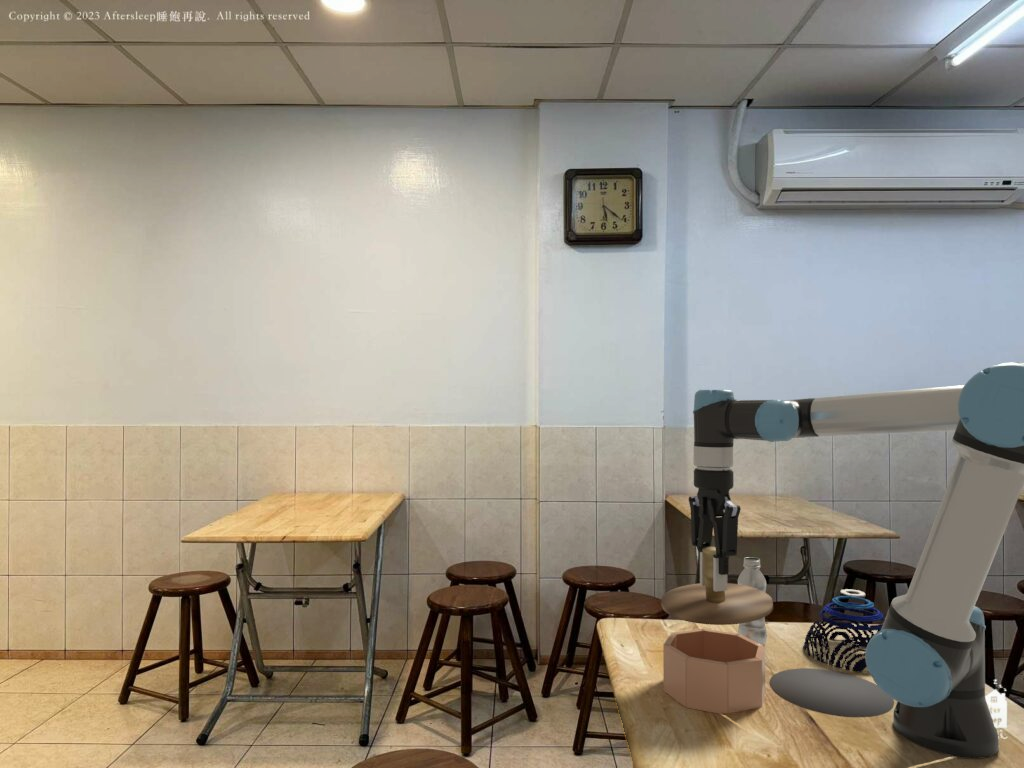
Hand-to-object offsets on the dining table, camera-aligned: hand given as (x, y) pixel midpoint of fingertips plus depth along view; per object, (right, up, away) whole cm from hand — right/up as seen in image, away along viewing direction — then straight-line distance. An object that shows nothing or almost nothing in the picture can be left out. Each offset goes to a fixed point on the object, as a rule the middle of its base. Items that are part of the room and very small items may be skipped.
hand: (713, 587), depth 134 cm
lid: (+1, -3, 0) cm, 4 cm away
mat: (+23, -20, -1) cm, 30 cm away
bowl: (0, -20, 0) cm, 20 cm away
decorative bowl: (+37, -21, +18) cm, 46 cm away
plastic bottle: (+16, -21, +25) cm, 36 cm away
